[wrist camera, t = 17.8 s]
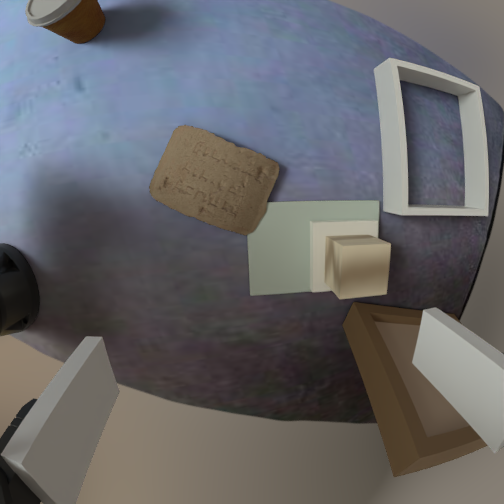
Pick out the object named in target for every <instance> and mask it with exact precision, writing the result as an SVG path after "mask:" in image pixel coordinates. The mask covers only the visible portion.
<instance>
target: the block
mask: <svg viewBox="0 0 504 504" xmlns="http://www.w3.org/2000/svg"><path fill="white" fill-rule="evenodd" d="M390 251H391V243H388V242H386V241H383V240H381V239H378V238H376V237H373V236H371V235H341V236H326V241H325V278H324V282H325V283H326V285H327V286H328V287H329V288H330V289H331V290H332V291H333V292H334V293H335V294H336V296H337V297H338V298H339V299H348V298H358V297H367V296H376V295H384V294H387V285H388V275H389V264H390Z"/></svg>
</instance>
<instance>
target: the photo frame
mask: <svg viewBox="0 0 504 504" xmlns="http://www.w3.org/2000/svg"><path fill="white" fill-rule="evenodd" d="M422 314H423V311H421V310H412V309H404V308H396V307H388V306H380V305H373V304H365V303H358V302H353V304H352V306H351V308H350V310H349V312H348V315H347V317H346V319H345V321H344V323H343V325H342V326H343V328H344V331H345V333H346V336H347V339H348V341H349V344H350V347H351V349H352V352H353V355H354V357H355V360H356V363H357V365H358V368H359V371H360V374H361V377H362V379H363V382H364V385H365V388H366V391H367V394H368V397H369V399H370V402H371V405H372V408H373V411H374V414H375V417H376V420H377V423H378V426H379V430H380V433H381V436H382V439H383V442H384V445H385V449H386V452H387V456H388V459H389V462H390V466H391V469H392V472H393V476H394V477H397V476H401V475H405V474H409V473H413V472H417V471H420V470H423V469H427V468H430V467H433V466H436V465H439V464H442V463H445V462H448V461H451V460H454V459H456V458H459V457H461V456H464V455H467V454H469V453H472V452H474V451H476V450H479V449H481V448H483V447H485V446H488V445H487V444H486V443H485V442H484V440H483V439H482V438H481V437H480V436H479V435H478V434H477V433H476V431H475V430H474V429H473V428H472V427H471V426H470V425H469V424H468V422H467V421H466V420H465V419H464V418H463V417H462V416H461V415H460V414H459V413H458V411H457V410H456V409H455V408H454V407H453V406H452V405H451V404H450V403H449V402H448V401H447V400H446V398H445V397H444V396H443V395H442V394H441V393H440V392H439V391H438V390H437V389H436V388H435V387H434V386H433V385H432V383H431V382H430V381H429V380H428V379H427V378H426V377H425V376H424V375H423V374H422V373H421V372H420V371H419V370H418V369H417V368H416V367H415V366H414V365H413V364H412V360H413V356H414V352H415V348H416V344H417V339H418V334H419V330H420V325H421V320H422ZM445 314H447V315H448V316H450V317H451V318H453V319H454V320H456V321H457V322H459V323H460V324H461V322H460V321H459V320H458V319H457V317H456V316H455V315H454V314H448V313H445Z"/></svg>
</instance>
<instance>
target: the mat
mask: <svg viewBox="0 0 504 504" xmlns="http://www.w3.org/2000/svg"><path fill="white" fill-rule="evenodd" d="M266 208H267V209H266V213H265V214H264V216H263V217H262V218H261V220H260V221H259V223H258V225H257V227H256V229H255V230H254V231H253V232H252V233H249V234H247V239H248V261H249V282H250V296H254V295H270V294H284V293H297V292H309V291H311V290H310V221H325V220H362V219H374V220H377V221H378V237H379V201H377V200H340V201H288V202H267V206H266Z"/></svg>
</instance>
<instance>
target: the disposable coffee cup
mask: <svg viewBox="0 0 504 504" xmlns="http://www.w3.org/2000/svg"><path fill="white" fill-rule="evenodd" d="M26 16H27V19H28V22H29V24H31V25H33V26H37V27H38V26H40V27H43V28H45V29H48V30H50V31H52V32H54V33H56V34H58V35H60V36H62V37H64V38H66V39H68V40H70V41H72V42H74V43H77V44H80V43H85V42H87V41H89V40H91V39H93V38H94V37H95V36H96V35H97V34H98V33H99V32H100V31H101V30H102V28H103V26H104V24H105V16H104V14H103V12H102V10H101V7H100V5H99V3H98V1H97V0H29V1H28V3H27V6H26Z"/></svg>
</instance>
